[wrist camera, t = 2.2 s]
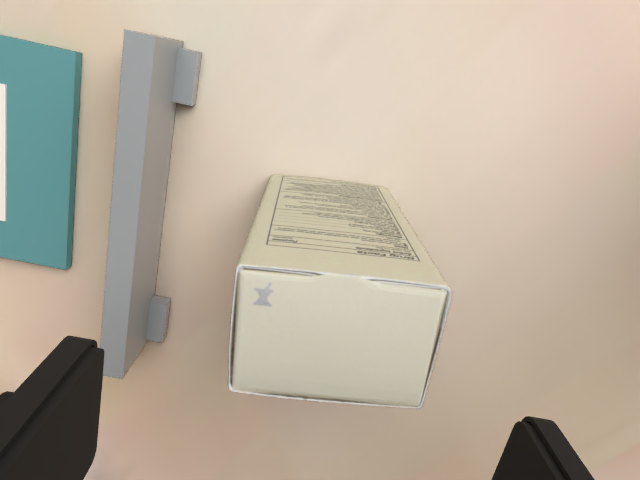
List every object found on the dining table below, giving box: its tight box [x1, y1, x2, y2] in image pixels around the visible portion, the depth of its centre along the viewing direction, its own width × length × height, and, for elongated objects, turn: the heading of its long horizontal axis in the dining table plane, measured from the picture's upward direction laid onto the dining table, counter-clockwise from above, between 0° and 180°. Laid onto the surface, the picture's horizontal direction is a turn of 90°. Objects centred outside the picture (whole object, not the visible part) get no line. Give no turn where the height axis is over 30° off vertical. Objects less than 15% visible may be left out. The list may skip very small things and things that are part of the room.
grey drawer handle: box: [100, 29, 202, 379], centre depth 23 cm, size 3×16×4 cm, turn 168°
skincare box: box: [228, 175, 452, 409], centre depth 20 cm, size 6×4×12 cm
